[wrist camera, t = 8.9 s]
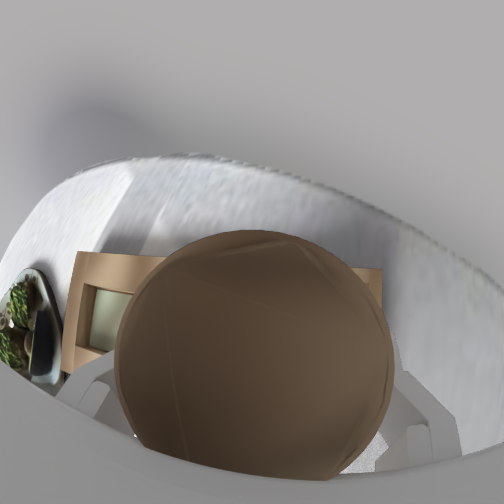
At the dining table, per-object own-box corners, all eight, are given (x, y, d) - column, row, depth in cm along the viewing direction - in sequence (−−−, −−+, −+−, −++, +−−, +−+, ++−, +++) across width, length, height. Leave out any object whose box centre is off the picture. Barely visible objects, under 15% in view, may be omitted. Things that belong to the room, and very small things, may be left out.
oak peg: (329, 305, 14) (399, 240, 4) (319, 394, 12) (363, 504, 3) (239, 298, 14) (136, 224, 5) (229, 384, 13) (111, 457, 4)
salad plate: (23, 428, 22) (0, 430, 18) (-8, 322, 28) (-29, 317, 24) (90, 385, 23) (59, 388, 18) (47, 254, 29) (22, 242, 24)
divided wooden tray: (372, 278, 21) (382, 269, 18) (359, 424, 18) (366, 435, 15) (95, 259, 26) (77, 251, 24) (80, 369, 23) (60, 369, 20)
